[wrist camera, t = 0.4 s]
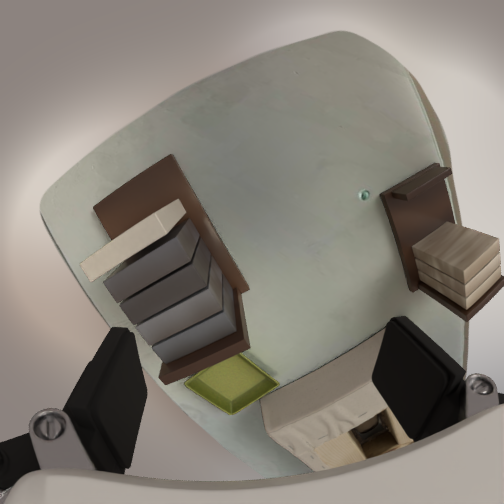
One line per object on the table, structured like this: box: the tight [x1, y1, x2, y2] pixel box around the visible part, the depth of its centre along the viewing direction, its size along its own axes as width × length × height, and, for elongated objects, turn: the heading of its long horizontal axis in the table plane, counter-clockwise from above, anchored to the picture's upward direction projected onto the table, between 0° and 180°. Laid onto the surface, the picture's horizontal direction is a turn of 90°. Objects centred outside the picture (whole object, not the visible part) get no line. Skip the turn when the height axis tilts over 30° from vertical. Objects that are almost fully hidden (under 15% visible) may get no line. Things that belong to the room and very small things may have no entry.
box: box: [260, 328, 415, 472], centre depth 36 cm, size 23×8×32 cm
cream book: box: [80, 199, 186, 282], centre depth 22 cm, size 2×7×10 cm, turn 118°
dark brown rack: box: [380, 163, 504, 322], centre depth 26 cm, size 14×10×11 cm
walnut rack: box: [93, 154, 250, 385], centre depth 23 cm, size 16×10×11 cm, turn 28°
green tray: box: [184, 353, 280, 415], centre depth 33 cm, size 9×9×2 cm
